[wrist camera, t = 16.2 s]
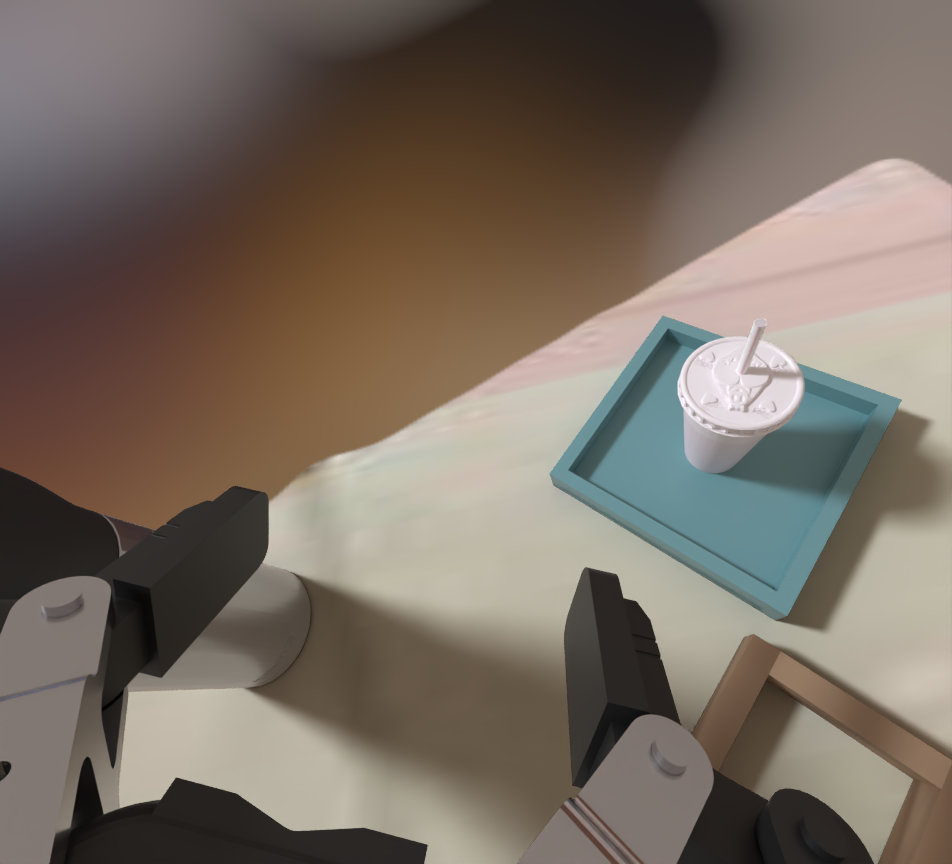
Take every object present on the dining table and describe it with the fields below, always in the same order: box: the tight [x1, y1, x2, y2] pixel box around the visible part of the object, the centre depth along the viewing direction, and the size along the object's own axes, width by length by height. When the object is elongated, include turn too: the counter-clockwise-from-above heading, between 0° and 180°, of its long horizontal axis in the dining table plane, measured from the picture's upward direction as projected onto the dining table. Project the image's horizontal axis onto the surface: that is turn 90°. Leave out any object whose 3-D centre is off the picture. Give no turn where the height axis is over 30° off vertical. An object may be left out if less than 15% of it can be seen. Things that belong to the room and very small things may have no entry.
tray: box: [550, 316, 902, 620], centre depth 34 cm, size 17×17×2 cm
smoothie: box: [678, 318, 805, 473], centre depth 28 cm, size 6×6×14 cm
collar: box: [691, 634, 952, 864], centre depth 25 cm, size 11×11×2 cm
